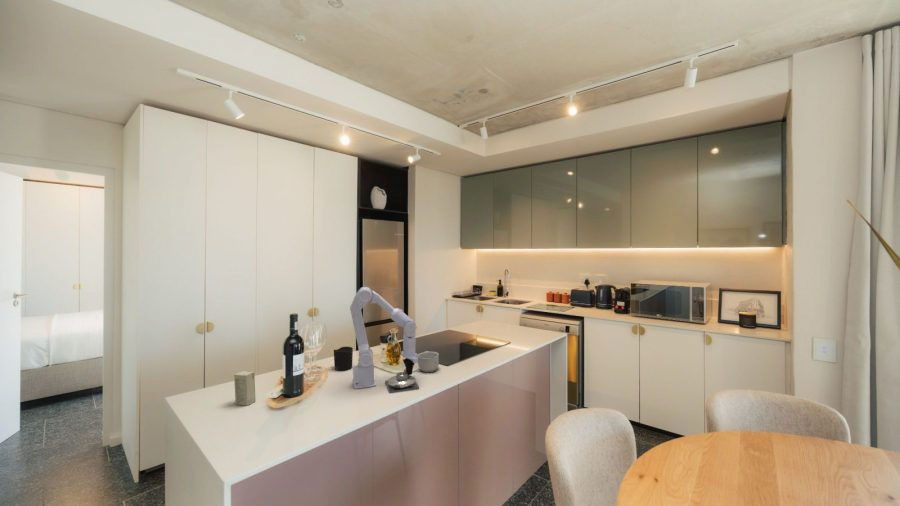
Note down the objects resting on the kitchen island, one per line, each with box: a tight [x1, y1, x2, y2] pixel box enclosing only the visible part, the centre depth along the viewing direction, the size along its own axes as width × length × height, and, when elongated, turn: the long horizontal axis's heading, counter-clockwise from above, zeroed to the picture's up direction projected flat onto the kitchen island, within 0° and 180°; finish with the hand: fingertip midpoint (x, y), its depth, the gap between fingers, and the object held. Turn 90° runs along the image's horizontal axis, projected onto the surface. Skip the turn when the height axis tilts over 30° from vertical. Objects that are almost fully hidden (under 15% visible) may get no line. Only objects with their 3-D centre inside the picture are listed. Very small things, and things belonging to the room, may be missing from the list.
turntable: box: [387, 368, 416, 388], centre depth 161 cm, size 15×12×3 cm
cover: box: [395, 371, 408, 382], centre depth 160 cm, size 5×5×3 cm
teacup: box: [416, 350, 440, 373], centre depth 181 cm, size 14×11×8 cm
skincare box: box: [233, 370, 257, 406], centre depth 143 cm, size 6×4×12 cm
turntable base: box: [384, 379, 420, 394], centre depth 160 cm, size 13×13×1 cm
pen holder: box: [333, 346, 354, 372], centre depth 183 cm, size 9×9×10 cm
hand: (409, 374), depth 166 cm, fingers closed, pressing on turntable
